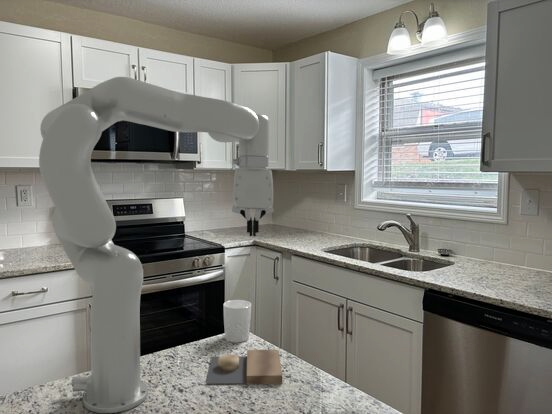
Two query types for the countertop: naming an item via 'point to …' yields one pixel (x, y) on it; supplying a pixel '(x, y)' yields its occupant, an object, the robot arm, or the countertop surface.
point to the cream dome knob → (228, 363)
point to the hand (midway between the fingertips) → (252, 235)
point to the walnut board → (263, 367)
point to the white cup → (237, 320)
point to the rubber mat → (227, 373)
